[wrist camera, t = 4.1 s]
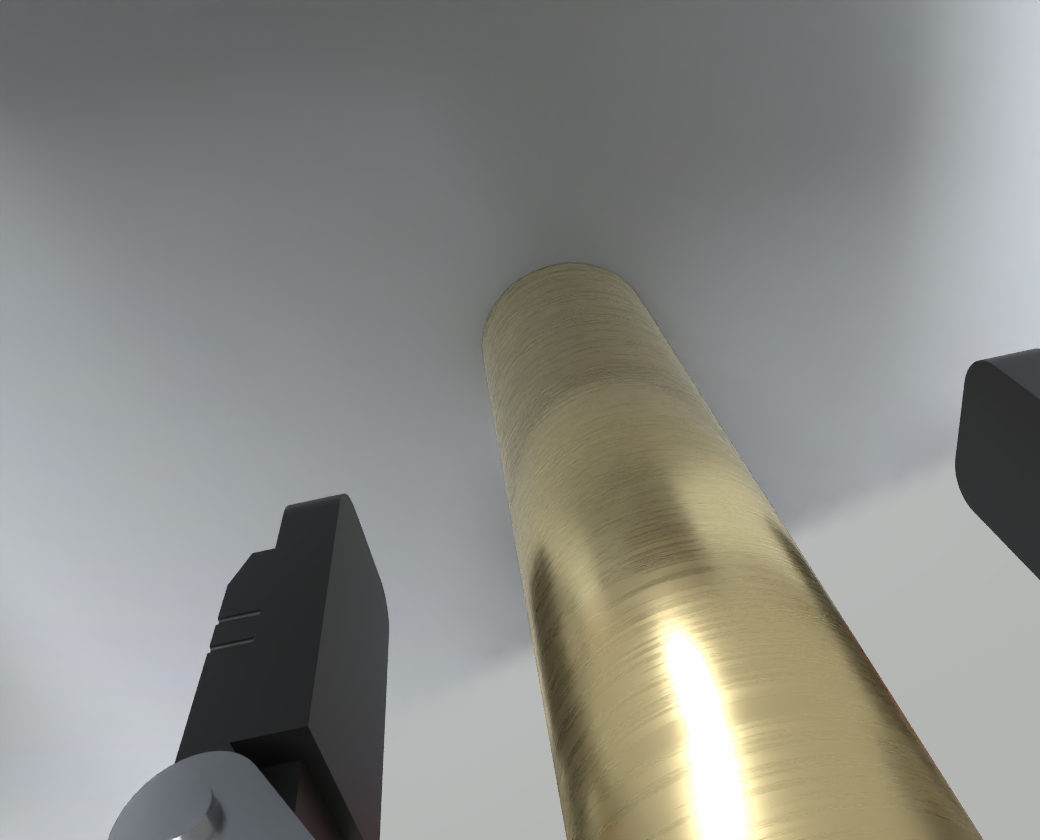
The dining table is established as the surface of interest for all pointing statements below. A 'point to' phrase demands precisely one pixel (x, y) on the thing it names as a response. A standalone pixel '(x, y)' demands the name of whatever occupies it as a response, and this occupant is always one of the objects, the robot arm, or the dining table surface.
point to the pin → (679, 601)
